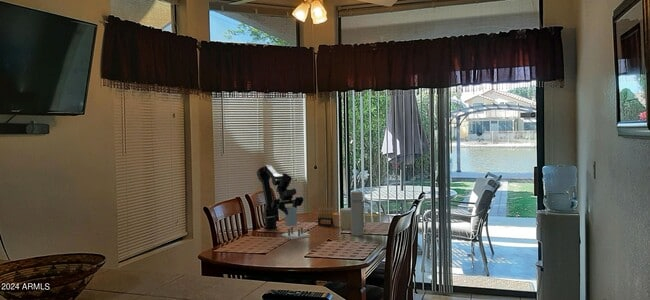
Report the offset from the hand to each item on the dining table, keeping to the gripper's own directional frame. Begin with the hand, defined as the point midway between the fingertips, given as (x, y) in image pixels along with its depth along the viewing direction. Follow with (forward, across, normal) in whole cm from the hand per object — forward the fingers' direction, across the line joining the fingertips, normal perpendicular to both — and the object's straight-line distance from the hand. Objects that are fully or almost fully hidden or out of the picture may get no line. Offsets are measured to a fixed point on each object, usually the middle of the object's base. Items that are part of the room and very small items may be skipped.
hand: (291, 214), depth 276 cm
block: (+4, 0, +6) cm, 7 cm away
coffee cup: (+6, +40, +13) cm, 43 cm away
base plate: (+8, +3, +11) cm, 14 cm away
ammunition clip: (-5, +33, +24) cm, 42 cm away
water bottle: (+22, +34, -2) cm, 41 cm away
